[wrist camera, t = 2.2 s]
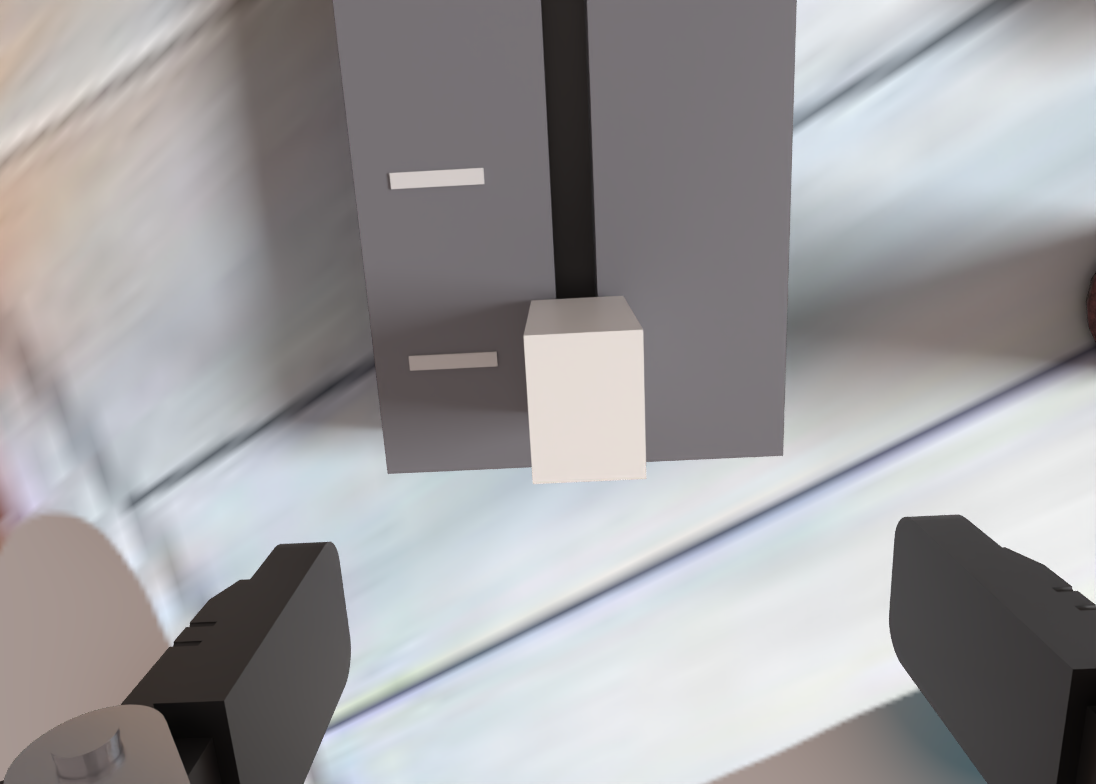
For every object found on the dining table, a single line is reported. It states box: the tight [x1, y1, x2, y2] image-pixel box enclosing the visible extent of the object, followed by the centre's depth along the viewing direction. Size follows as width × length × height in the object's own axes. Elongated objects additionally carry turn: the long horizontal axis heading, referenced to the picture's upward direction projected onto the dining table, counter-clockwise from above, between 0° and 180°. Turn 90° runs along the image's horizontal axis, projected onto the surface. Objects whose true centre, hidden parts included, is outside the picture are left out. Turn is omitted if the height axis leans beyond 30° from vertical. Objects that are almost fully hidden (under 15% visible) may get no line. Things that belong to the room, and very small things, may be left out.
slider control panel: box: [333, 0, 797, 474], centre depth 26 cm, size 23×14×5 cm, turn 3°
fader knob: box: [524, 296, 646, 484], centre depth 23 cm, size 4×3×8 cm
